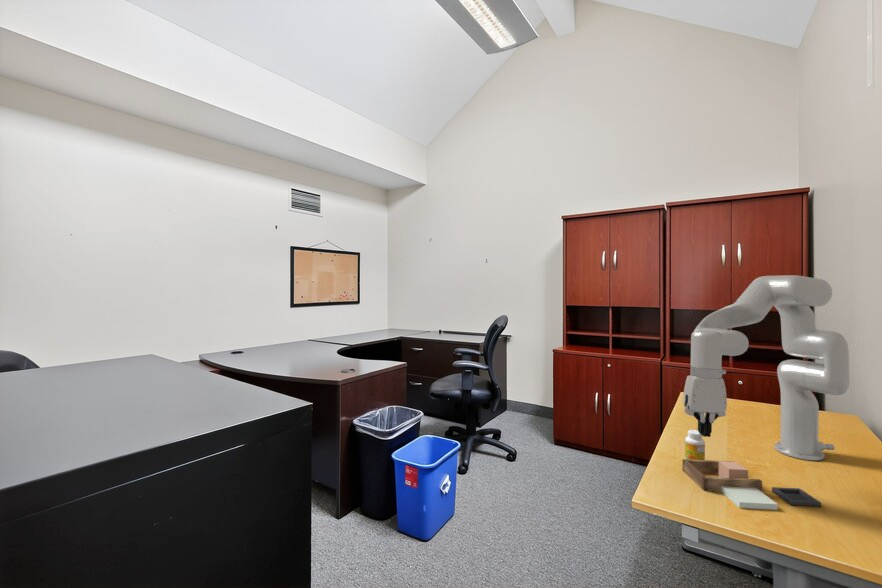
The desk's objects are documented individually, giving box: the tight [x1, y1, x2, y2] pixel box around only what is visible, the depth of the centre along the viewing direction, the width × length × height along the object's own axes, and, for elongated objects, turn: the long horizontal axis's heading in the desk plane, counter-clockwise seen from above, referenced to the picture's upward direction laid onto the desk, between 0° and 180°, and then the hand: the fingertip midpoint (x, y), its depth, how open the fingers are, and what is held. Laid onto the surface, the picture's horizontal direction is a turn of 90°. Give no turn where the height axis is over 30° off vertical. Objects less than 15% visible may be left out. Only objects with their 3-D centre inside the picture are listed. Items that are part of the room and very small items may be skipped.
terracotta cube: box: [718, 460, 749, 479], centre depth 114 cm, size 5×5×5 cm
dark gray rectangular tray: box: [771, 486, 822, 508], centre depth 105 cm, size 7×7×1 cm
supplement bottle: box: [684, 429, 706, 460], centre depth 127 cm, size 5×5×10 cm
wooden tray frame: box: [682, 458, 763, 493], centre depth 115 cm, size 15×12×4 cm
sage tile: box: [721, 486, 778, 511], centre depth 104 cm, size 9×8×2 cm
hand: (704, 435), depth 115 cm, fingers closed
